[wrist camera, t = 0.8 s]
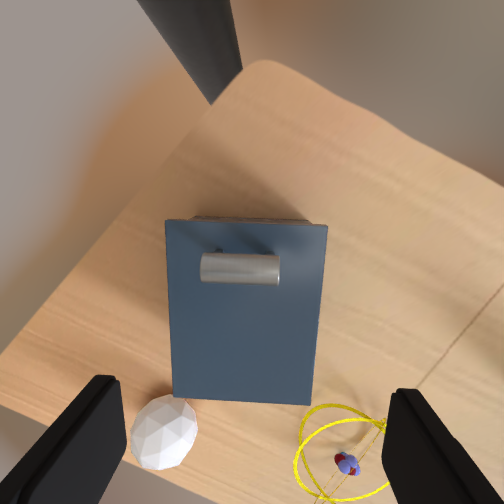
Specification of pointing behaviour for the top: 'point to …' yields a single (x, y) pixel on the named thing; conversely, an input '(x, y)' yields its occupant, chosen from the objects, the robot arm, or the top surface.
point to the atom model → (343, 460)
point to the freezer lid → (244, 309)
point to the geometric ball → (163, 432)
